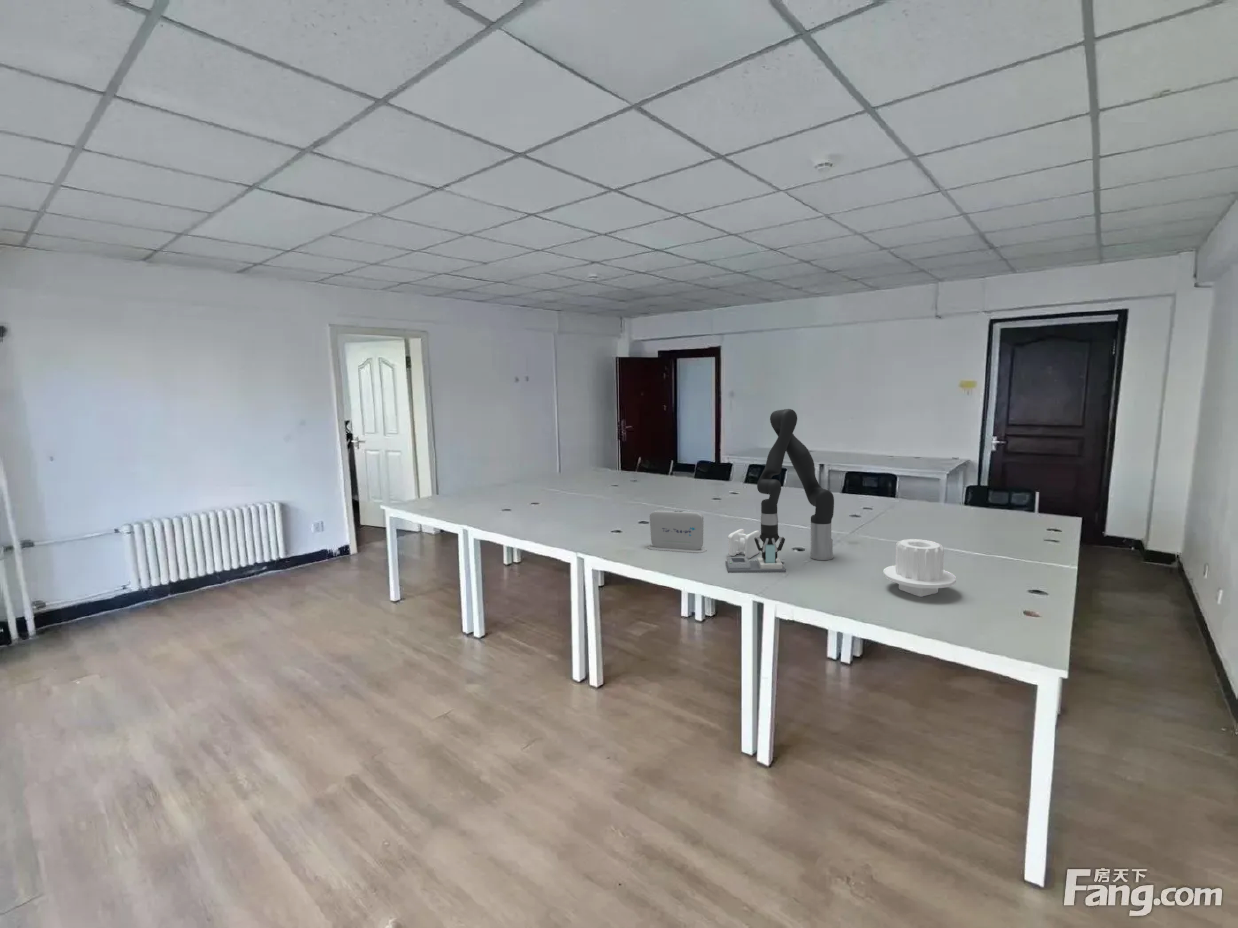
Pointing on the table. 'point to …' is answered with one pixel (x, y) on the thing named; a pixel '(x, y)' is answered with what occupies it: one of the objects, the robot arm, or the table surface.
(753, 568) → the panel base
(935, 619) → the table surface
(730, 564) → the block
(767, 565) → the light grey square tray
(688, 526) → the wireless router
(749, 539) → the cable organizer
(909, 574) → the flanged gear
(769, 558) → the plug
